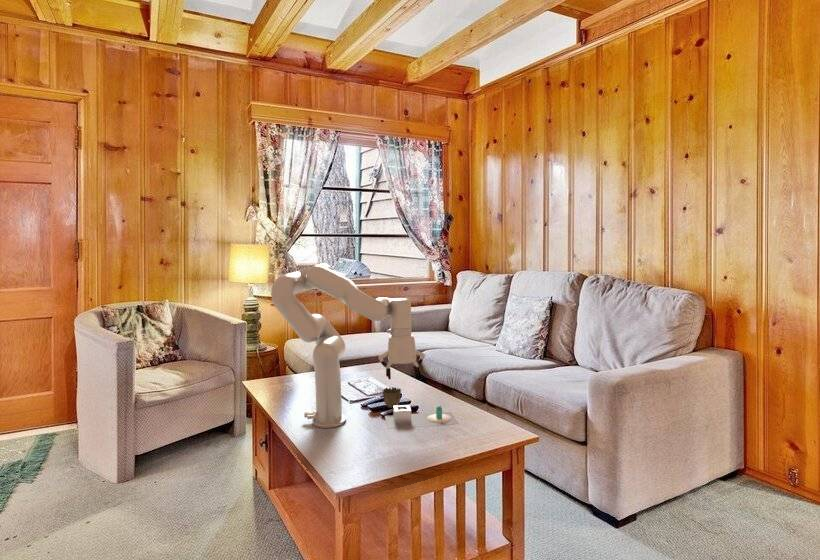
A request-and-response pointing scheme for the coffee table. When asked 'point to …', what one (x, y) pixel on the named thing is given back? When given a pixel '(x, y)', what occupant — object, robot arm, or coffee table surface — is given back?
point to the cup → (391, 396)
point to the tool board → (424, 419)
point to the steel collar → (402, 414)
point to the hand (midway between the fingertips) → (402, 377)
